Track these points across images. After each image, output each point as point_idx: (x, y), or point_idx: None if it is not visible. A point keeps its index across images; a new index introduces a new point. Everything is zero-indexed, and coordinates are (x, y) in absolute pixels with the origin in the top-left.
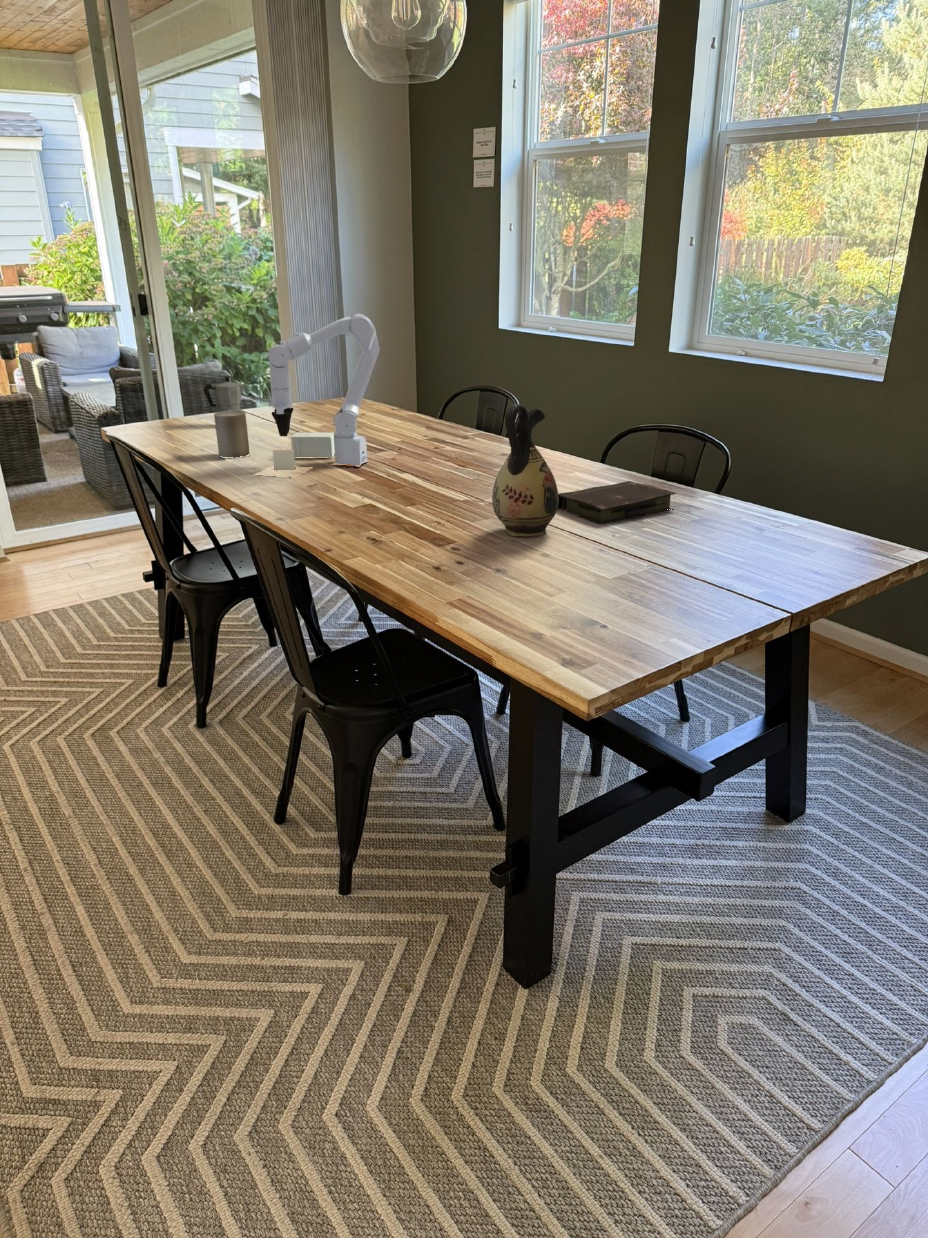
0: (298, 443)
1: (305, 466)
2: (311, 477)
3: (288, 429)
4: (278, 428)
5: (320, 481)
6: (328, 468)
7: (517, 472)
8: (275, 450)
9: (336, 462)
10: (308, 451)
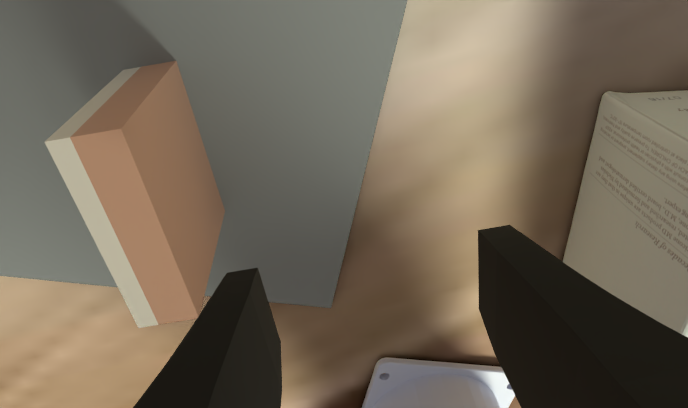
0: (666, 209)
1: (371, 230)
2: (79, 331)
3: (495, 346)
4: (173, 364)
5: (6, 389)
6: (326, 356)
7: None
8: (98, 157)
9: (397, 393)
10: (602, 241)
